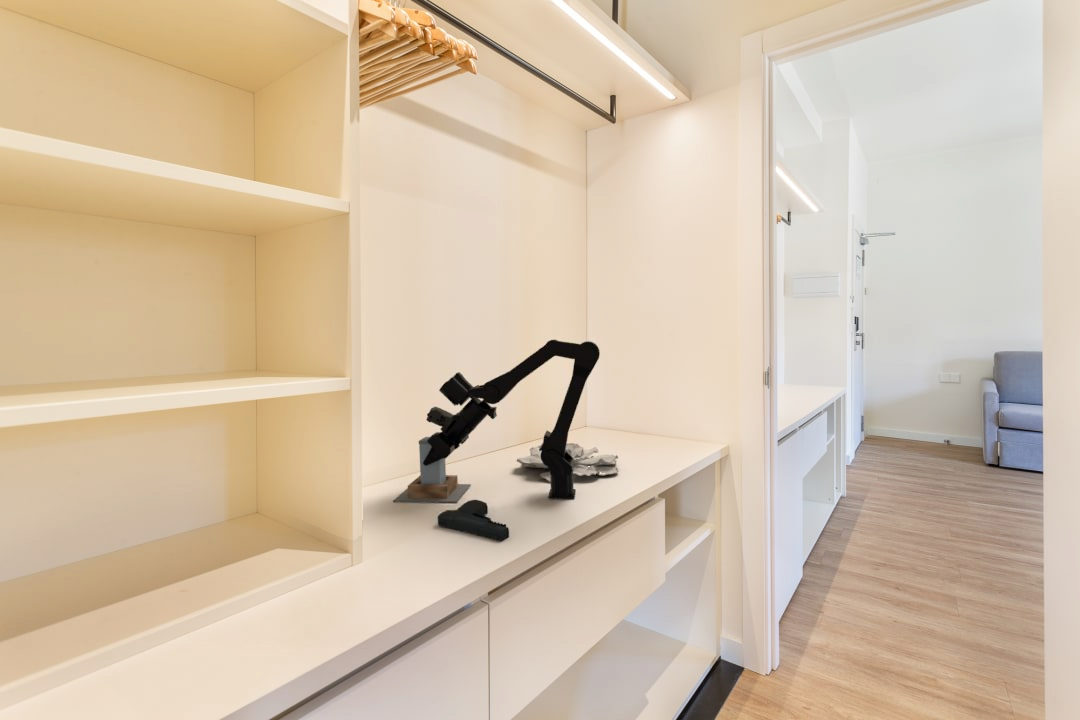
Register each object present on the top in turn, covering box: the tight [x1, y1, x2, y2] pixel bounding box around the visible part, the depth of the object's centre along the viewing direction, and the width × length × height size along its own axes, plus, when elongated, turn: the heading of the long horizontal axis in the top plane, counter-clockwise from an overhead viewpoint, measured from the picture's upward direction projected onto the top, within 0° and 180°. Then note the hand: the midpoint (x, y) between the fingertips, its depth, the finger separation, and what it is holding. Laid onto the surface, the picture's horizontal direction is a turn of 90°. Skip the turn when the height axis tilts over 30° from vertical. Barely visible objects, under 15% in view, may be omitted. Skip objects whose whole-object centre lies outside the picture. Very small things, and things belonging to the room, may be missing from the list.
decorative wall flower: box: [516, 442, 619, 483], centre depth 155 cm, size 30×7×30 cm
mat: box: [392, 483, 472, 504], centre depth 134 cm, size 16×14×1 cm
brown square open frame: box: [407, 474, 459, 498], centre depth 133 cm, size 10×10×3 cm
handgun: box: [437, 499, 510, 542], centre depth 111 cm, size 3×18×12 cm
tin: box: [418, 436, 447, 484], centre depth 133 cm, size 5×5×12 cm
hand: (427, 461), depth 133 cm, fingers closed on tin, 5 cm apart
